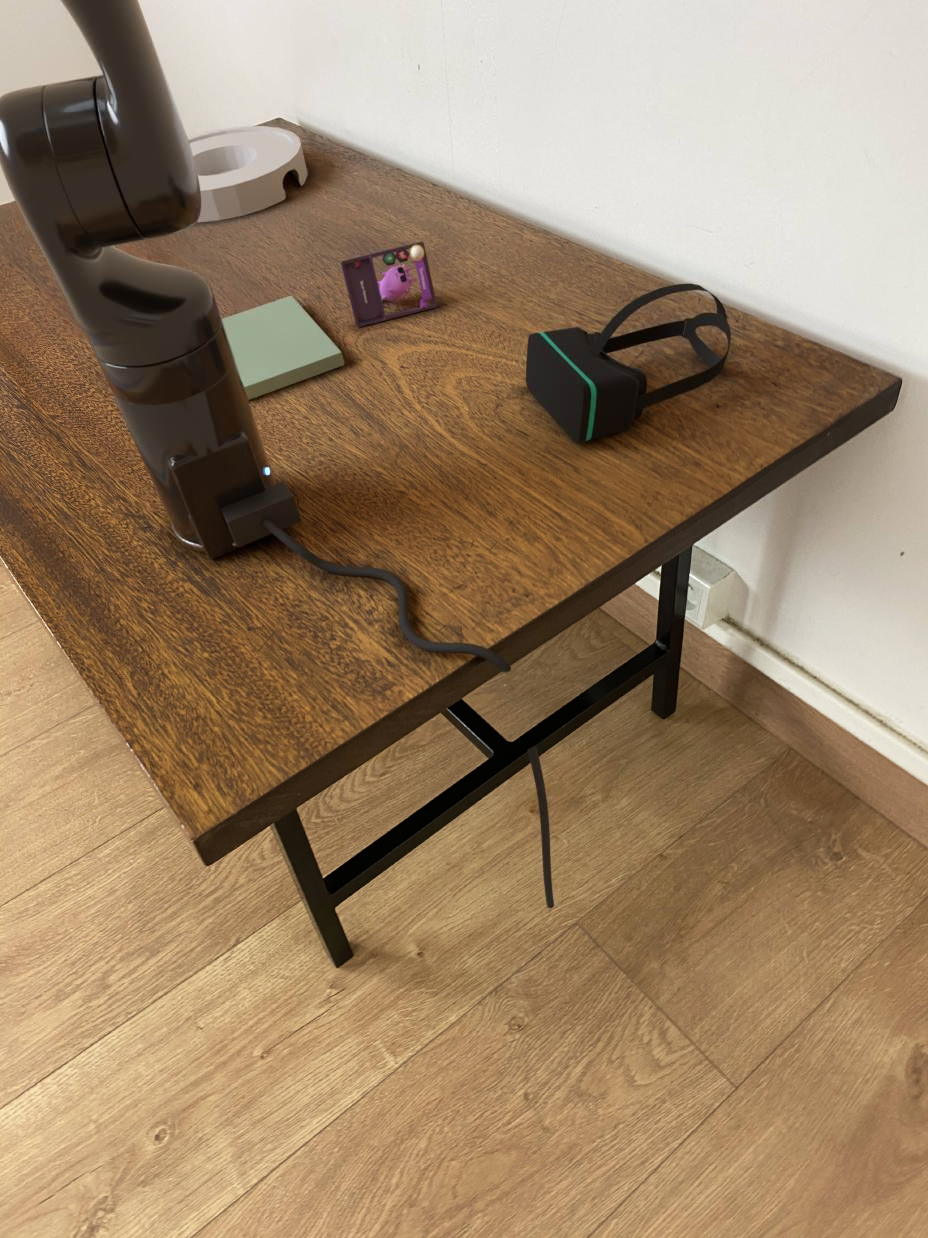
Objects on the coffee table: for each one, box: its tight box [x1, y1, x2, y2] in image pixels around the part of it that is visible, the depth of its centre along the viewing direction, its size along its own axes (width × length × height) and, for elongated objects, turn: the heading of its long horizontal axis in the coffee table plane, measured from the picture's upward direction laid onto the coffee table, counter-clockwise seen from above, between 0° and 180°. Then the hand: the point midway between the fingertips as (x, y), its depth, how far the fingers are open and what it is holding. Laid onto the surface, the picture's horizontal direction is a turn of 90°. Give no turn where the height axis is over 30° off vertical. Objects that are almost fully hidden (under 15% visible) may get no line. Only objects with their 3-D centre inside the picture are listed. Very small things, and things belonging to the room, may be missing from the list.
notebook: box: [222, 295, 345, 401], centre depth 95 cm, size 15×11×2 cm
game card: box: [340, 241, 438, 328], centre depth 97 cm, size 7×5×9 cm
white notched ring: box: [187, 125, 309, 223], centre depth 127 cm, size 23×23×4 cm
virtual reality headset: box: [525, 282, 732, 444], centre depth 80 cm, size 11×17×10 cm, turn 112°
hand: (114, 34), depth 77 cm, fingers closed
